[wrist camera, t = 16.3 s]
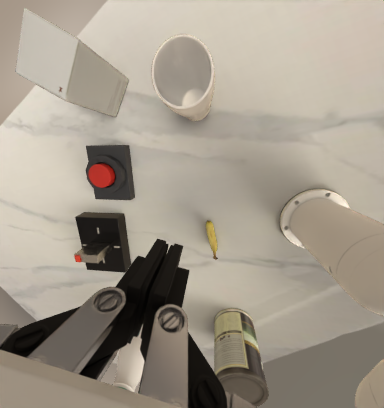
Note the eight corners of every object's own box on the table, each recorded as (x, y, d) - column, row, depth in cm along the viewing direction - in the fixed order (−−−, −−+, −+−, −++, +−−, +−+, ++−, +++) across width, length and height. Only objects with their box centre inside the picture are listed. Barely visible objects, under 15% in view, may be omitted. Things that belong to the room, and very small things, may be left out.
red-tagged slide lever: (110, 243, 40) (96, 256, 35) (111, 249, 41) (97, 264, 36) (90, 241, 41) (73, 254, 36) (91, 248, 41) (75, 262, 36)
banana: (219, 249, 41) (219, 259, 37) (211, 250, 41) (211, 260, 37) (211, 217, 39) (211, 224, 35) (204, 218, 39) (203, 226, 35)
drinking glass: (176, 123, 34) (149, 106, 20) (179, 82, 32) (151, 30, 17) (212, 127, 33) (210, 112, 19) (217, 85, 31) (219, 33, 17)
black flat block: (131, 264, 45) (125, 273, 42) (94, 262, 46) (86, 270, 43) (124, 213, 41) (117, 218, 38) (84, 212, 42) (74, 217, 39)
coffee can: (259, 314, 45) (277, 384, 32) (245, 341, 48) (257, 414, 35) (220, 303, 46) (222, 367, 32) (209, 330, 49) (207, 398, 36)
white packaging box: (130, 79, 32) (80, 39, 20) (116, 118, 35) (64, 103, 23) (94, 57, 32) (22, 3, 20) (82, 98, 34) (12, 72, 22)
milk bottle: (164, 294, 47) (131, 393, 28) (171, 316, 49) (143, 422, 30) (138, 295, 48) (88, 391, 29) (145, 317, 50) (103, 419, 31)
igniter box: (135, 197, 39) (126, 202, 36) (101, 196, 40) (89, 201, 37) (129, 145, 36) (119, 145, 32) (92, 145, 37) (79, 145, 33)
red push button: (116, 186, 35) (112, 187, 34) (96, 185, 36) (90, 187, 34) (113, 163, 34) (108, 164, 32) (92, 163, 34) (86, 164, 33)
